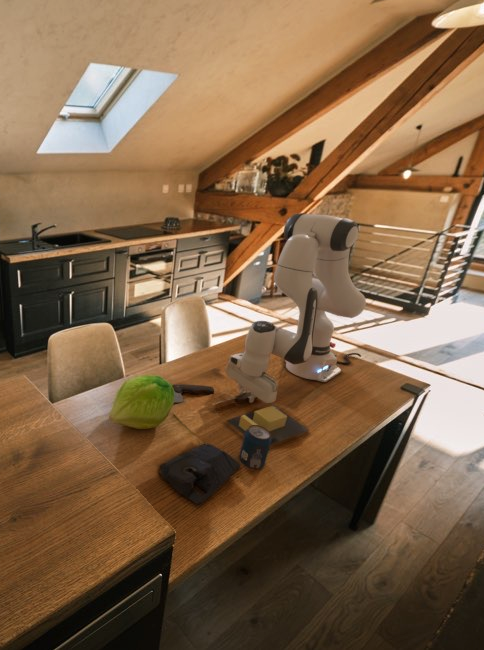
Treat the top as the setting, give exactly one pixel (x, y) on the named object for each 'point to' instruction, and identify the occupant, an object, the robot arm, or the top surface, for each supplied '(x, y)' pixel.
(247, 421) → the butter slice
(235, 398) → the knife
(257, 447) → the soda can
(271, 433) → the butter board
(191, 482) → the folded black cloth
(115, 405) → the lettuce
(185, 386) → the cleaver
